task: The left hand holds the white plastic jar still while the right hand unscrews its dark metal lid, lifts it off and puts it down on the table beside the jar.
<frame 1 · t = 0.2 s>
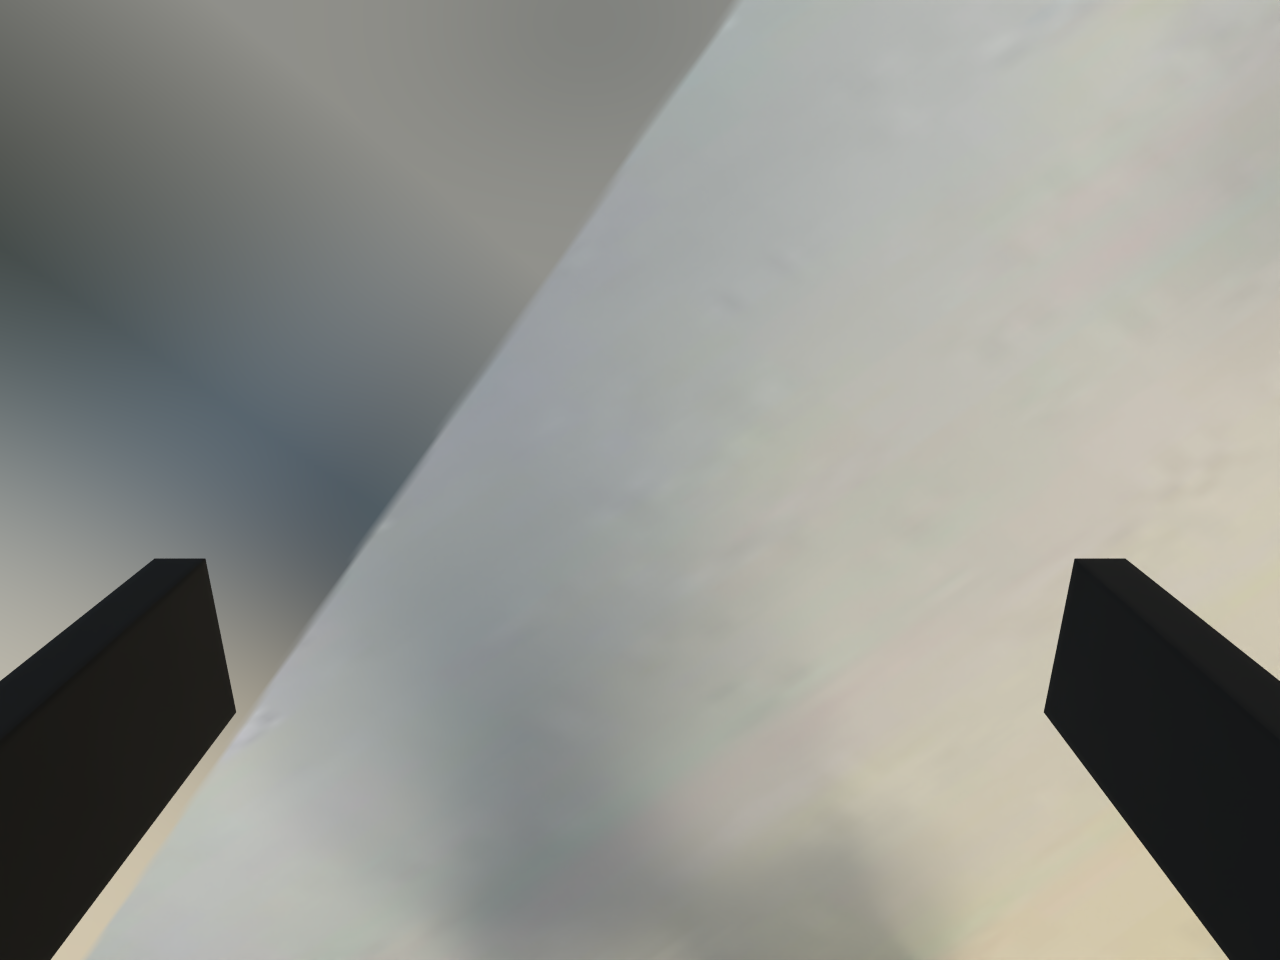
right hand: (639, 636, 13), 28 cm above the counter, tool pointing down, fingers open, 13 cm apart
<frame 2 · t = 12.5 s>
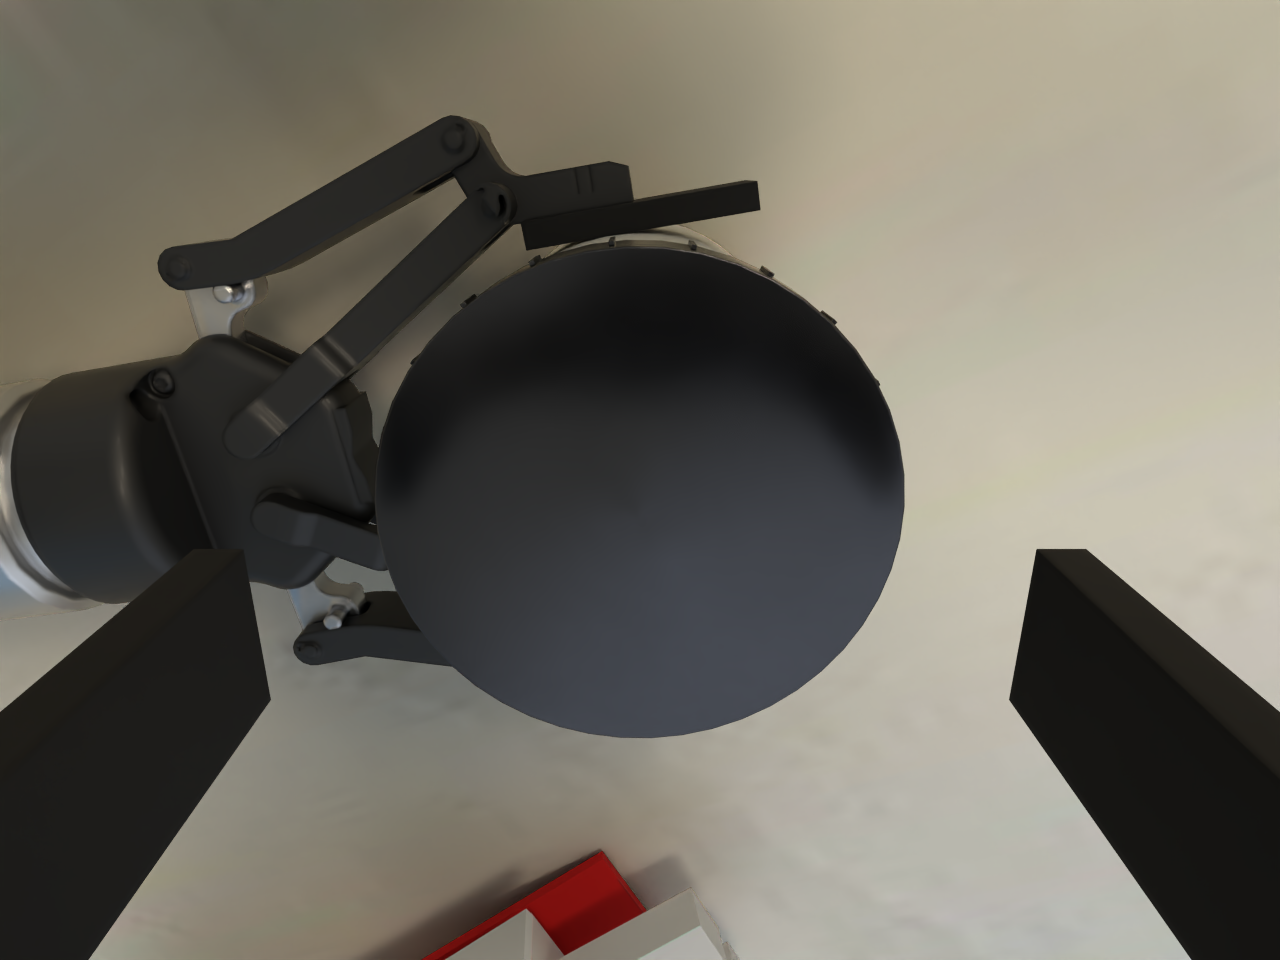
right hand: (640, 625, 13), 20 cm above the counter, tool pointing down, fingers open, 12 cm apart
left hand: (773, 381, 26), fingers closed on jar, 10 cm apart
lid: (639, 513, 17), point 15 cm above the counter, screwed on, not yet turned
jar: (639, 360, 32), on the counter, touching left hand
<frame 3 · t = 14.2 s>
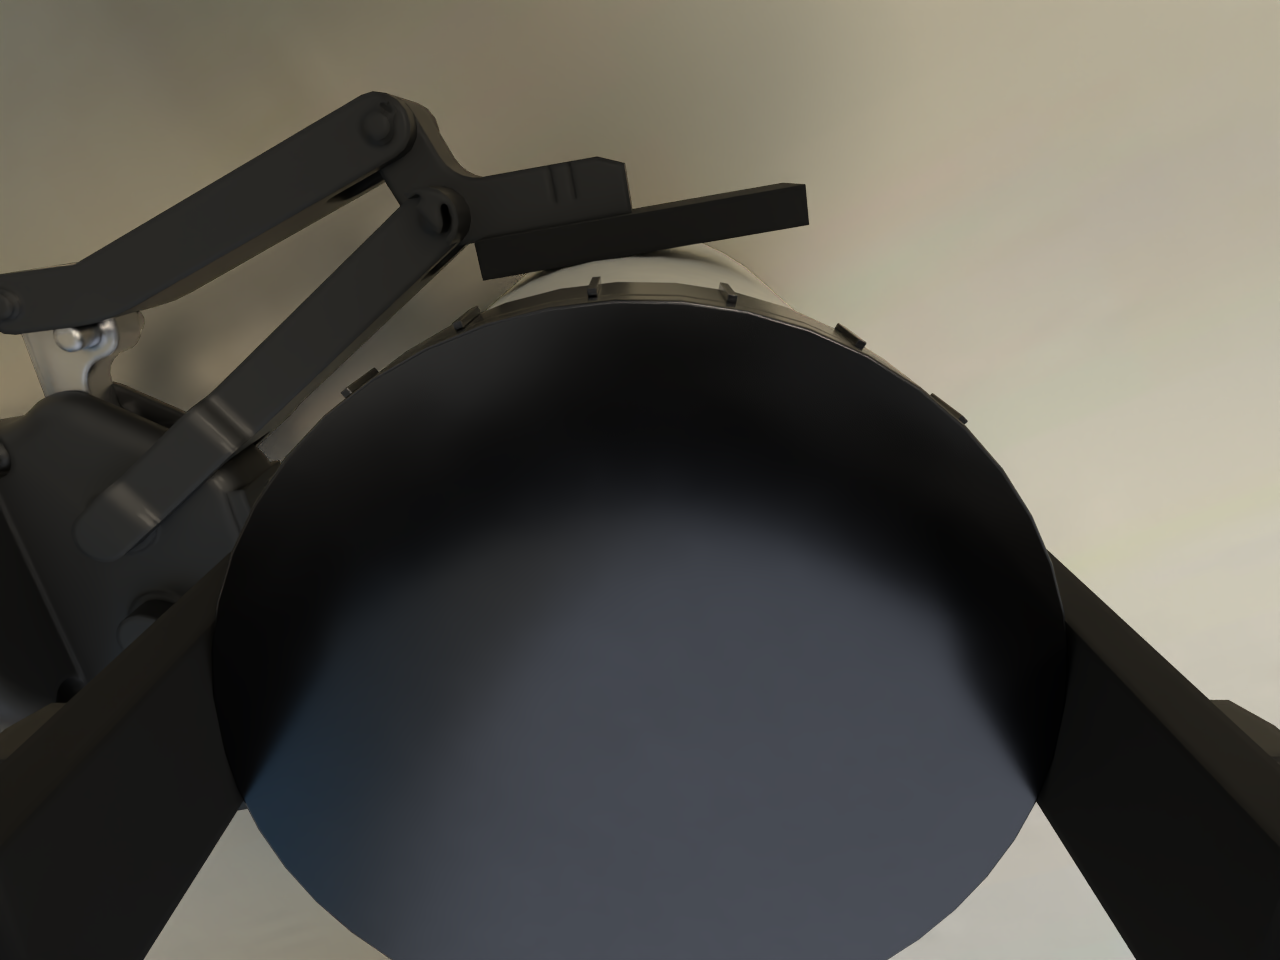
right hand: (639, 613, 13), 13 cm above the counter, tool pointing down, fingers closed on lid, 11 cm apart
lid: (639, 711, 11), point 15 cm above the counter, screwed on, not yet turned, touching right hand
jar: (640, 408, 25), on the counter, touching left hand
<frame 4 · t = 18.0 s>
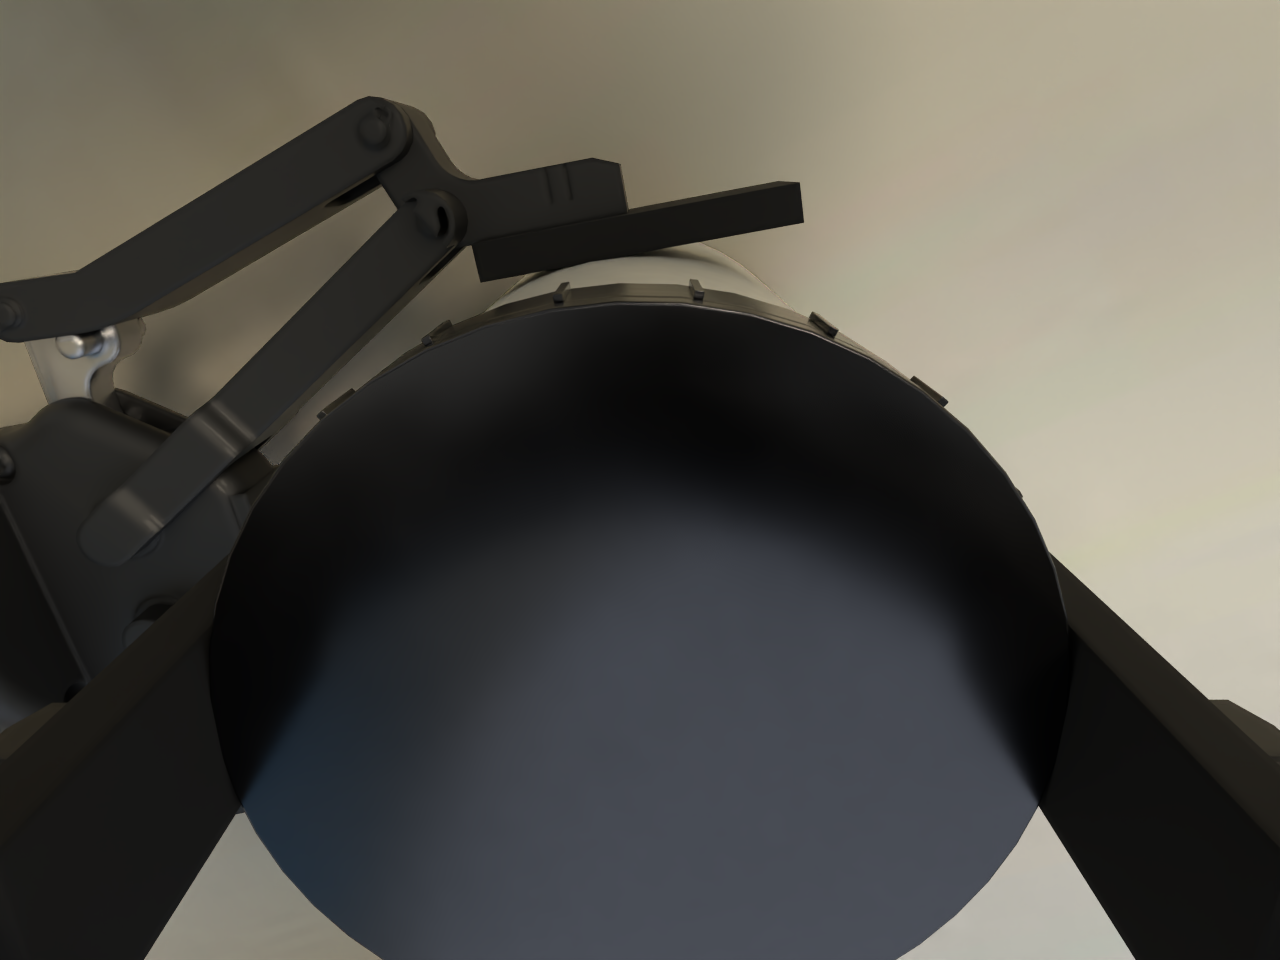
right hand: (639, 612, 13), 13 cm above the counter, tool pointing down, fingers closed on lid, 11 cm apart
lid: (639, 715, 11), point 15 cm above the counter, turned 134° so far, risen 0.2 cm, still on its thread, touching right hand
jar: (639, 407, 25), on the counter, touching left hand
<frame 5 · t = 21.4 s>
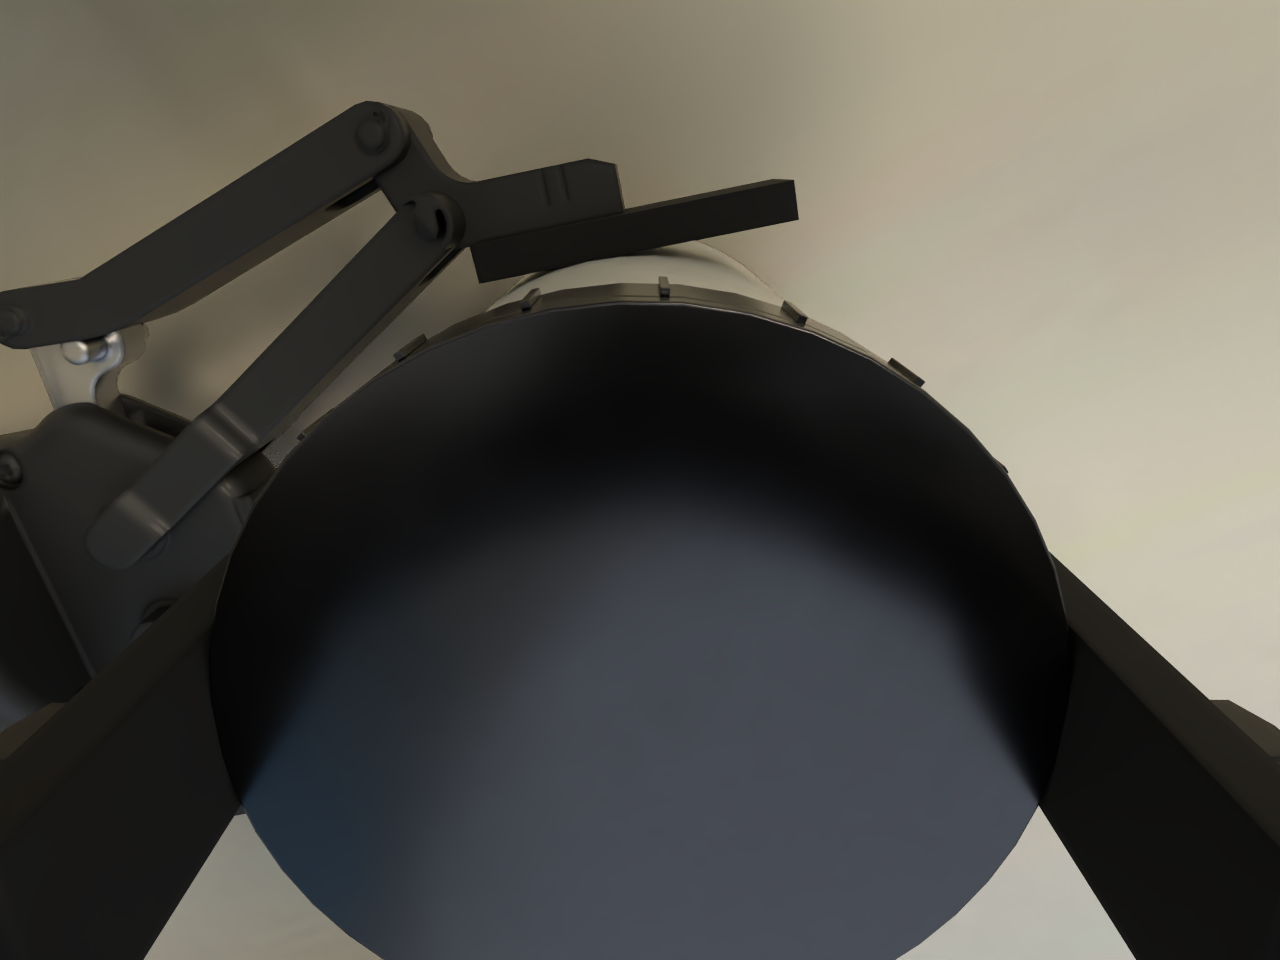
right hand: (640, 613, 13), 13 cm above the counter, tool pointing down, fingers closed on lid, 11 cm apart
lid: (639, 714, 11), point 15 cm above the counter, turned 268° so far, risen 0.3 cm, still on its thread, touching right hand
jar: (639, 406, 25), on the counter, touching left hand
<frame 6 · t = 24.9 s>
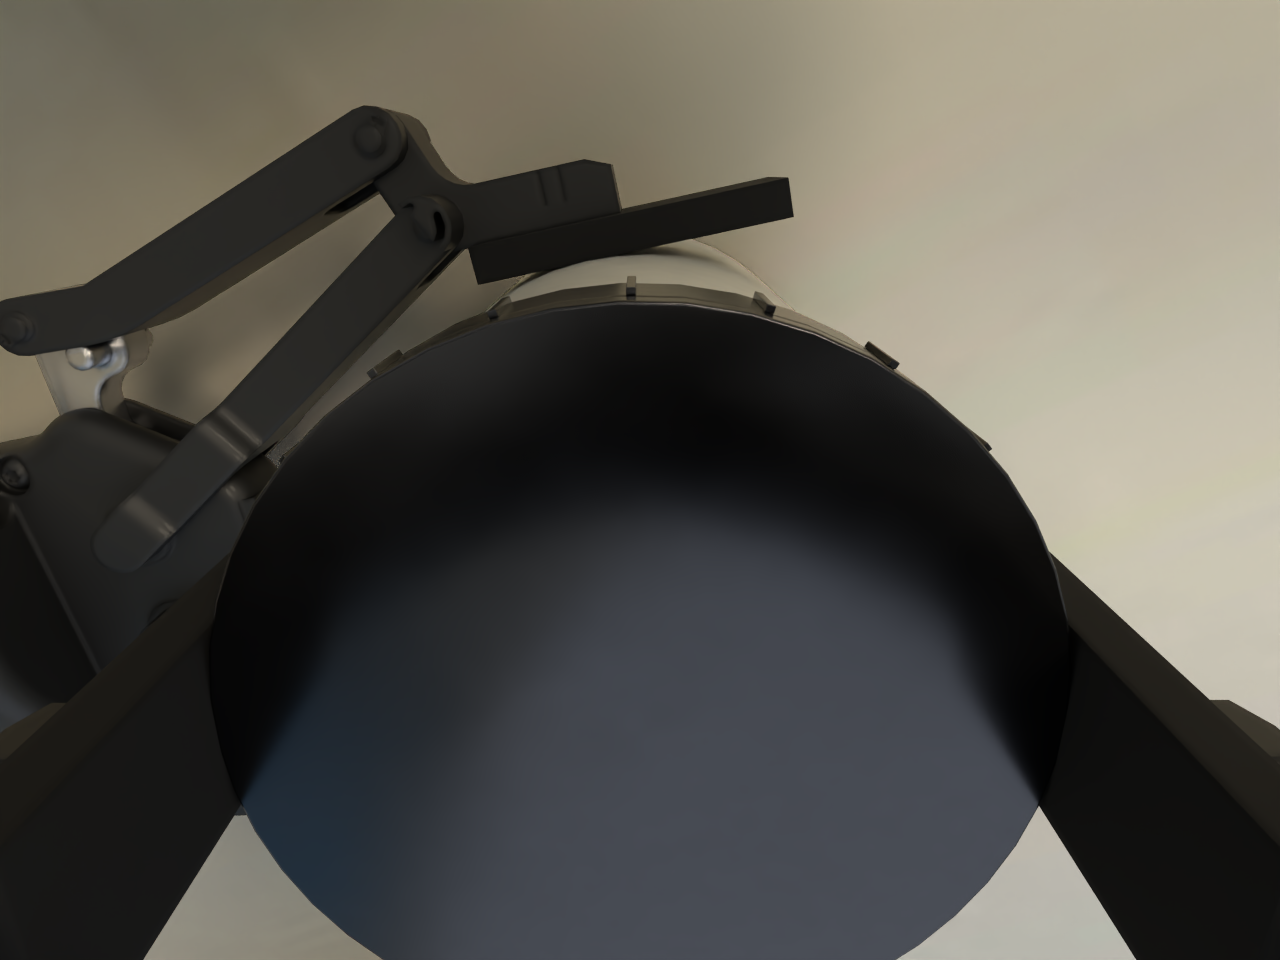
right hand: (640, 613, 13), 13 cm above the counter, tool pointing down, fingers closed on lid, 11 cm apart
lid: (639, 715, 11), point 16 cm above the counter, turned 402° so far, risen 0.5 cm, still on its thread, touching right hand
jar: (640, 404, 26), on the counter, touching left hand
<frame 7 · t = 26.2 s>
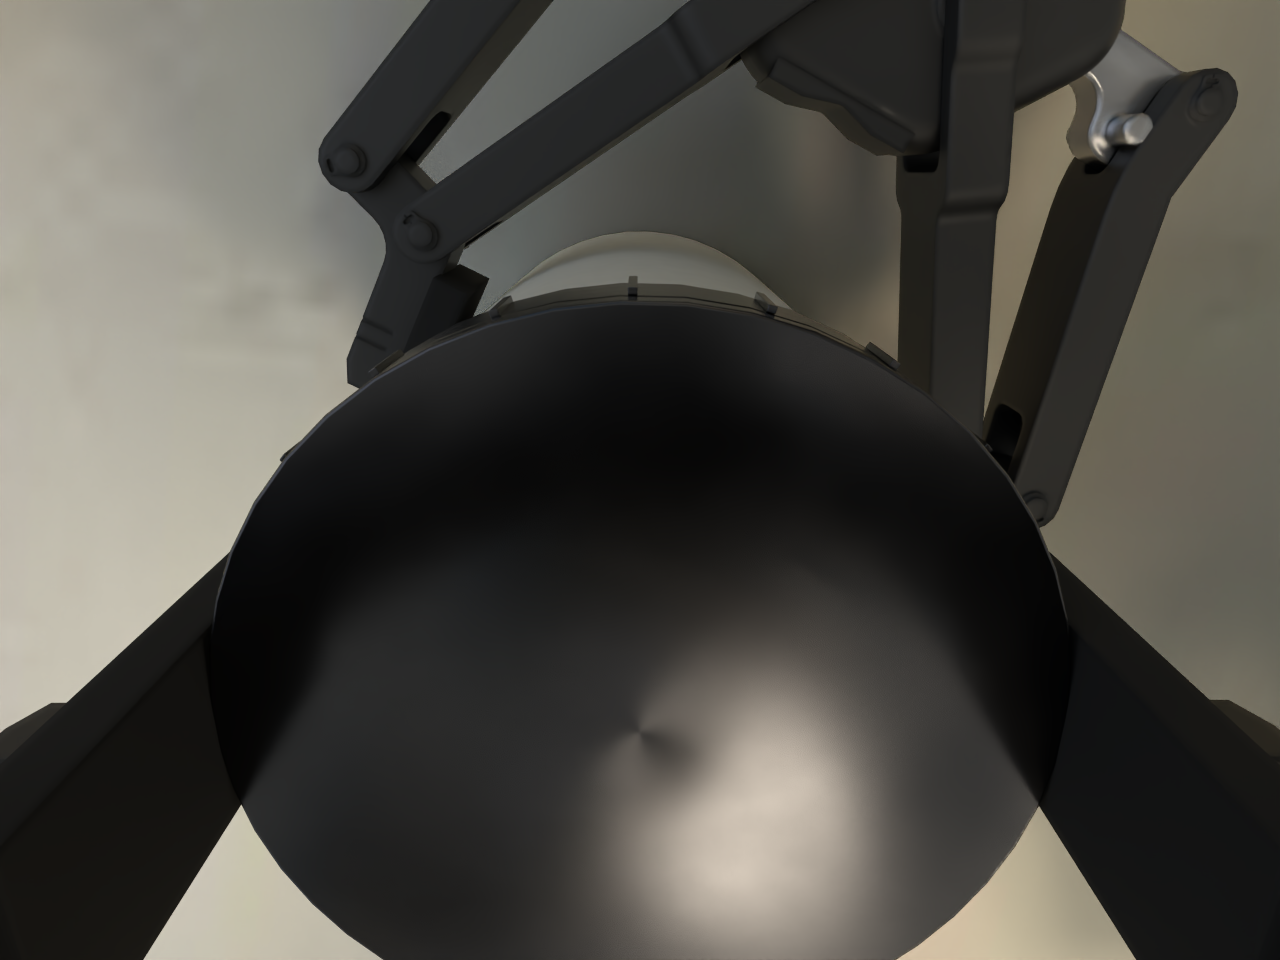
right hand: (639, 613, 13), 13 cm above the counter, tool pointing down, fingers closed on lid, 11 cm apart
lid: (639, 715, 11), point 16 cm above the counter, off its thread, touching right hand
jar: (639, 404, 26), on the counter, touching left hand
when the right hand's fingers open (0 cm above the counter, at t = 31.8 s): lid drops 2 cm, point 1 cm above the counter.
when the left hand's fingers open (6 cm above the counter, at t = 32.8 s): jar stays where it is, on the counter.
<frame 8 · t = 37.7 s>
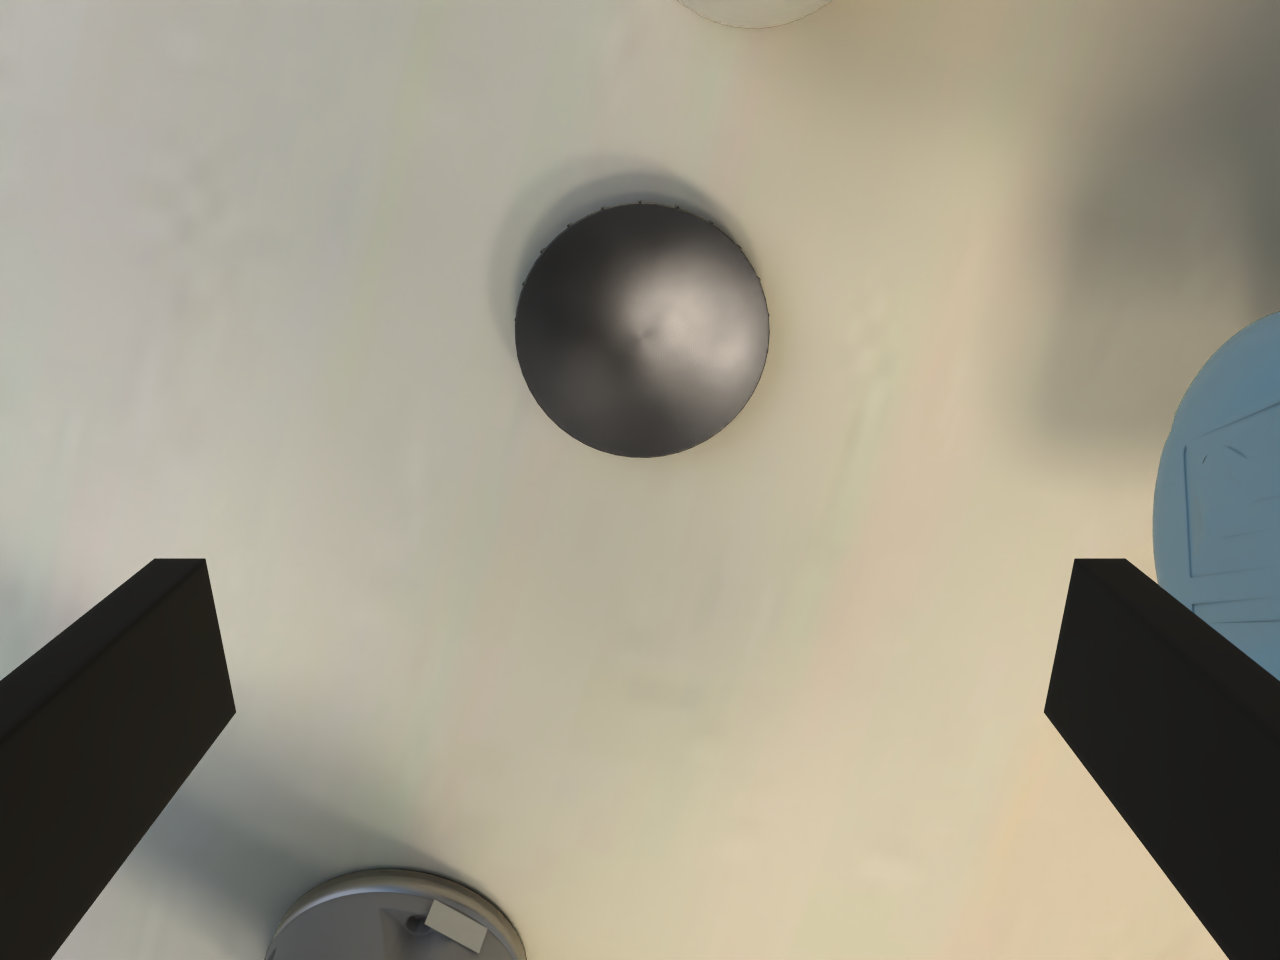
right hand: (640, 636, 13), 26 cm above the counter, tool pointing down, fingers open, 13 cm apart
lid: (642, 336, 36), point 1 cm above the counter, off its thread
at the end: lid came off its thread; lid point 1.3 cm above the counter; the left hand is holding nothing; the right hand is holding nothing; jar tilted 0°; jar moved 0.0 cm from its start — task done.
